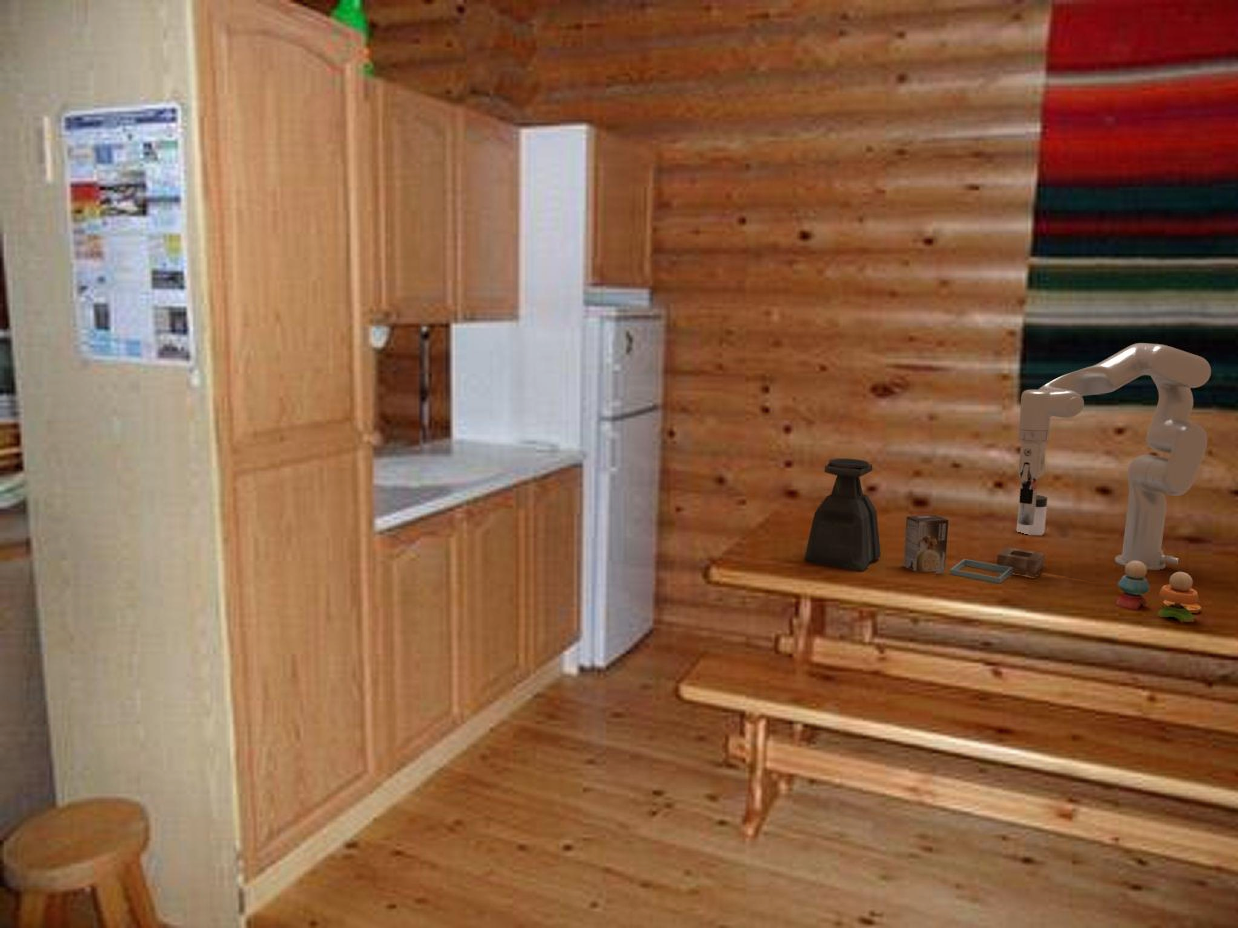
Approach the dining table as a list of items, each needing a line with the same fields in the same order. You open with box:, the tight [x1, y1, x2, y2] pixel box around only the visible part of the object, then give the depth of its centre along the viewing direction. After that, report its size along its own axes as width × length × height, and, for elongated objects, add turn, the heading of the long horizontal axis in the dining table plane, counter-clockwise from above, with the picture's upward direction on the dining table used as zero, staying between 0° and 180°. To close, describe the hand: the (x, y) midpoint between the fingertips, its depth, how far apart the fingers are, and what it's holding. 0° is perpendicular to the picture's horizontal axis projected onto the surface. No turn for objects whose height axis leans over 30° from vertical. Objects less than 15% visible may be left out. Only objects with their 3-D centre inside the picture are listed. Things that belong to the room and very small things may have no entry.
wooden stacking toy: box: [1115, 561, 1202, 621], centre depth 228 cm, size 18×17×12 cm
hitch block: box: [996, 546, 1045, 578], centre depth 262 cm, size 10×10×5 cm
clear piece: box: [1017, 480, 1039, 525], centre depth 259 cm, size 4×4×12 cm
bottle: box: [803, 457, 882, 572], centre depth 259 cm, size 18×16×30 cm
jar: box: [1016, 494, 1048, 536], centre depth 305 cm, size 9×8×12 cm
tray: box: [949, 558, 1013, 584], centre depth 255 cm, size 13×13×2 cm
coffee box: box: [903, 514, 949, 575], centre depth 255 cm, size 9×6×16 cm
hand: (1027, 501), depth 259 cm, fingers closed on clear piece, 4 cm apart
